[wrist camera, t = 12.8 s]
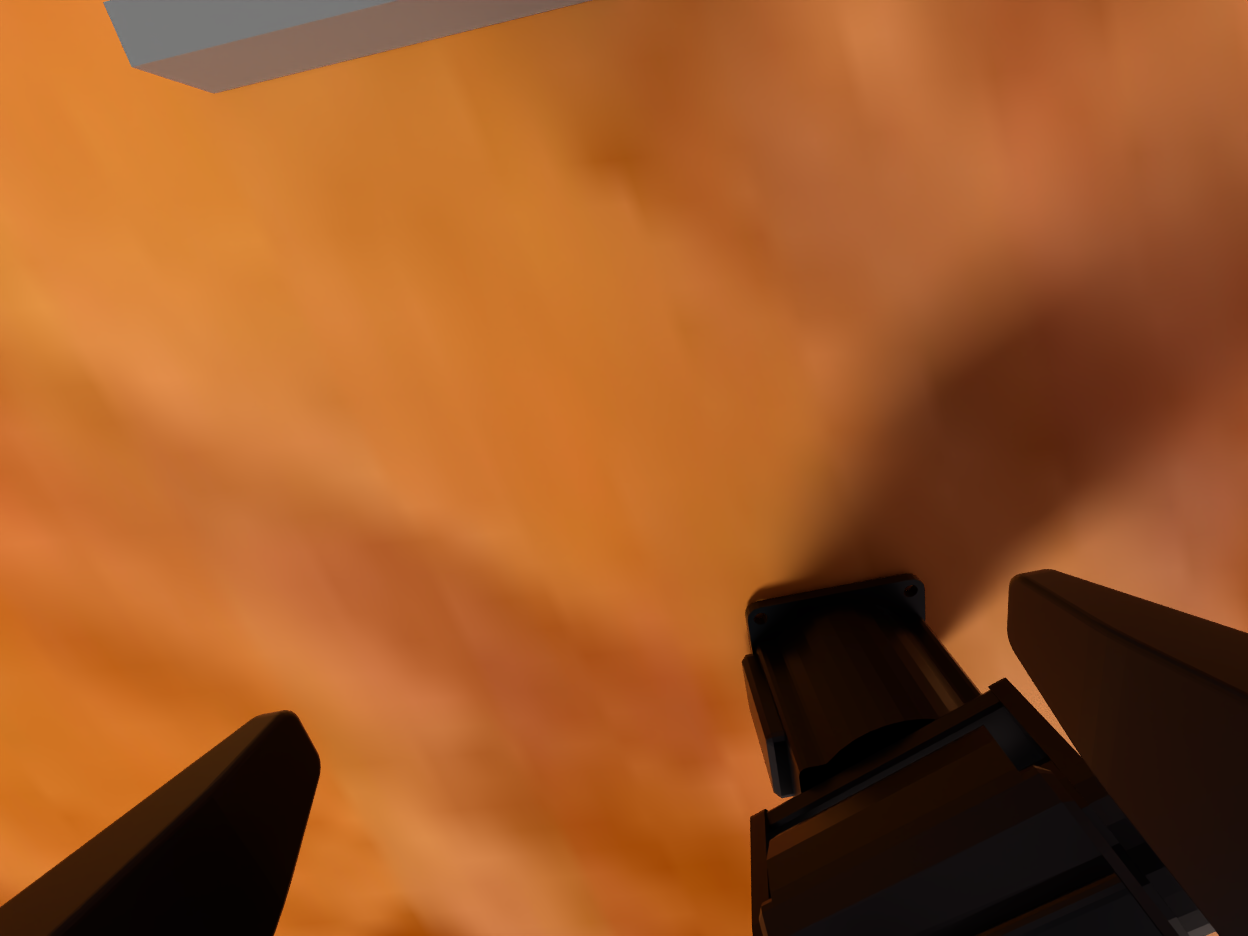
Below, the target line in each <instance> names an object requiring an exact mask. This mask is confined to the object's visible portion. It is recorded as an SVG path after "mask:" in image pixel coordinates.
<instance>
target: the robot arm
mask: <svg viewBox="0 0 1248 936" xmlns="http://www.w3.org/2000/svg"><path fill="white" fill-rule="evenodd" d="M910 585H912V587H911V588H910V589H909V590H907V591H904V589H905V588H906V587H907V586H910ZM759 613H764V616H763V617H760V618H755V616H756V615H757V614H759ZM745 616H746V623H747V629H748V635H749V642H750V648H751V654H749V655H746V656H745V657H744V659H743V660H742V666H743V672H744V678H745V684H746V690H747V696H748V702H749V708H750V712H751V715H752V719H753V722H754V726H755V729H756V733H757V736H758V739H759V743H760V746H761V750H762V753H763V757H764V760H765V764H766V767H767V771H768V774H769V778H770V781H771V784H772V788H773V791H774V793H775V794H777V795H778V796H779V797H781V798H785V797H791V796H793V798H791V799H790V800H788V801H786V802H784V803H782V804H781V805H779V806H777V807H775V808H773V809H771V810H770V811H768V810H767V809H764V810H762V811H760V812H759V813H757V814H755V815H753V816H751V817H750V836H751V897H752V932H753V936H1206V935H1208V934H1210V933H1213V932H1215V931H1216V932H1217V933H1218V935H1219V936H1248V633H1246V632H1243V631H1239V630H1236V629H1233V628H1230V627H1227V626H1224V625H1221V624H1218V623H1215V622H1212V621H1209V620H1206V619H1203V618H1200V617H1197V616H1193V615H1190V614H1187V613H1184V612H1181V611H1178V610H1175V609H1172V608H1169V607H1166V606H1163V605H1160V604H1157V603H1154V602H1151V601H1148V600H1144V599H1141V598H1138V597H1135V596H1132V595H1129V594H1126V593H1123V592H1120V591H1117V590H1114V589H1111V588H1108V587H1105V586H1102V585H1099V584H1095V583H1092V582H1089V581H1086V580H1083V579H1080V578H1077V577H1074V576H1071V575H1068V574H1065V573H1062V572H1059V571H1056V570H1052V569H1043V570H1038V571H1032V572H1027V573H1022V574H1018V575H1016V576H1014V577H1013V578H1012V579H1011V581H1010V584H1009V597H1008V620H1007V633H1008V639H1009V642H1010V645H1011V647H1012V649H1013V651H1014V653H1015V654H1016V656H1017V657H1018V659H1019V661H1020V662H1021V664H1022V665H1023V667H1024V668H1025V670H1026V671H1027V673H1028V675H1029V676H1030V678H1031V679H1032V681H1033V682H1034V684H1035V686H1036V687H1037V689H1038V690H1039V692H1040V693H1041V695H1042V696H1043V698H1044V700H1045V701H1046V703H1047V704H1048V706H1049V707H1050V709H1051V711H1052V712H1053V714H1054V715H1055V717H1056V718H1057V720H1058V721H1059V723H1060V725H1061V726H1062V728H1063V729H1064V731H1065V732H1066V734H1067V736H1068V737H1069V739H1070V740H1071V742H1072V743H1073V745H1074V746H1075V748H1076V750H1077V751H1078V753H1079V754H1080V755H1081V756H1080V755H1079V754H1078V753H1077V752H1076V751H1075V750H1074V749H1073V748H1072V747H1071V746H1070V745H1069V744H1068V743H1067V741H1066V740H1065V739H1064V738H1063V737H1062V736H1061V735H1060V734H1059V733H1058V732H1057V731H1056V730H1055V729H1054V728H1053V727H1052V726H1051V725H1050V724H1049V723H1048V722H1047V720H1046V719H1045V718H1044V717H1043V716H1042V715H1041V714H1040V713H1039V712H1038V711H1037V710H1036V709H1035V708H1034V707H1033V706H1032V705H1031V704H1030V703H1029V702H1028V701H1027V699H1026V698H1025V697H1024V696H1023V695H1022V694H1021V693H1020V692H1019V691H1018V690H1017V689H1016V688H1015V687H1014V686H1013V685H1012V684H1011V683H1010V682H1009V681H1008V680H1007V678H1003V679H1001V680H999V681H997V682H996V683H994V684H992V685H990V686H988V687H989V689H990V690H989V691H987V692H985V693H984V694H982V693H981V692H980V691H979V690H978V688H977V687H976V686H975V685H974V683H973V682H972V681H971V680H970V678H969V677H968V676H967V674H966V673H965V672H964V671H963V669H962V668H961V667H960V666H959V664H958V663H957V662H956V660H955V659H954V658H953V657H952V655H951V654H950V653H949V652H948V650H947V649H946V648H945V647H944V645H943V644H942V643H941V641H940V640H939V639H938V638H937V636H936V635H935V634H934V633H933V631H932V630H931V629H930V628H929V626H928V625H927V624H926V622H925V588H924V584H923V583H922V582H921V581H920V580H919V579H918V578H917V577H916V576H915V575H913V574H901V575H895V576H890V577H885V578H879V579H874V580H869V581H863V582H858V583H853V584H847V585H842V586H837V587H831V588H826V589H820V590H815V591H810V592H804V593H799V594H794V595H788V596H783V597H778V598H772V599H767V600H762V601H757V602H754V603H751V604H750V605H749V606H748V607H747V609H746V612H745ZM320 768H321V766H320V758H319V755H318V752H317V751H316V749H315V747H314V745H313V743H312V741H311V740H310V738H309V736H308V734H307V732H306V730H305V729H304V727H303V725H302V723H301V721H300V719H299V718H298V716H297V715H296V714H295V713H293V712H292V711H288V710H283V711H278V712H272V713H267V714H262V715H259V716H256V717H254V718H253V719H251V720H250V721H249V722H247V723H246V724H245V725H243V726H242V727H241V728H239V729H238V730H237V731H235V732H234V733H233V734H231V735H230V736H229V737H227V738H226V739H224V740H223V741H222V742H220V743H219V744H218V745H216V746H215V747H214V748H212V749H211V750H210V751H208V752H207V753H206V754H204V755H203V756H202V757H200V758H199V759H198V760H196V761H195V762H194V763H192V764H191V765H190V766H188V767H187V768H186V769H184V770H183V771H182V772H180V773H179V774H178V775H176V776H175V777H174V778H172V779H171V780H170V781H168V782H167V783H166V784H164V785H163V786H162V787H160V788H159V789H158V790H156V791H155V792H154V793H152V794H151V795H150V796H148V797H147V798H146V799H144V800H143V801H142V802H140V803H139V804H138V805H136V806H135V807H134V808H132V809H131V810H130V811H128V812H127V813H126V814H124V815H123V816H122V817H120V818H119V819H118V820H116V821H115V822H114V823H112V824H111V825H110V826H108V827H107V828H106V829H104V830H103V831H102V832H100V833H99V834H97V835H96V836H95V837H93V838H92V839H91V840H89V841H88V842H87V843H85V844H84V845H83V846H81V847H80V848H79V849H77V850H76V851H75V852H73V853H72V854H71V855H69V856H68V857H67V858H65V859H64V860H63V861H61V862H60V863H59V864H57V865H56V866H55V867H53V868H52V869H51V870H49V871H48V872H47V873H45V874H44V875H43V876H41V877H40V878H39V879H37V880H36V881H35V882H33V883H32V884H31V885H29V886H28V887H27V888H25V889H24V890H23V891H21V892H20V893H19V894H17V895H16V896H15V897H13V898H12V899H11V900H9V901H8V902H7V903H5V904H4V905H3V906H1V907H0V936H274V933H275V931H276V928H277V925H278V922H279V919H280V916H281V913H282V910H283V907H284V904H285V901H286V897H287V894H288V891H289V887H290V884H291V881H292V877H293V873H294V870H295V866H296V862H297V858H298V855H299V851H300V847H301V844H302V840H303V836H304V832H305V829H306V825H307V821H308V818H309V814H310V810H311V806H312V803H313V799H314V795H315V792H316V788H317V784H318V781H319V776H320Z"/></svg>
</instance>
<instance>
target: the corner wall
mask: <svg viewBox="0 0 1248 936" xmlns="http://www.w3.org/2000/svg"><path fill="white" fill-rule="evenodd" d="M586 1H591V0H110V1H106V2H103V3H104V5H105V8H106V10H107V12H108V14H109V17H110V19H111V21H112V23H113V26H114V28H115V30H116V32H117V35H118V37H119V39H120V41H121V44H122V46H123V48H124V51H125V53H126V55H127V57H128V60H129V62H130V64H131V66H132V67H133V68H136V69H139V70H143V71H146V72H149V73H152V74H155V75H158V76H161V77H164V78H167V79H170V80H174V81H177V82H180V83H183V84H186V85H189V86H192V87H195V88H198V89H202V90H205V91H208V92H211V93H218V92H222V91H226V90H230V89H234V88H238V87H242V86H246V85H250V84H254V83H258V82H262V81H266V80H270V79H274V78H279V77H283V76H287V75H291V74H295V73H299V72H303V71H307V70H311V69H315V68H319V67H323V66H327V65H331V64H335V63H339V62H343V61H347V60H351V59H356V58H360V57H364V56H368V55H372V54H376V53H380V52H384V51H388V50H392V49H396V48H400V47H404V46H408V45H412V44H416V43H420V42H424V41H428V40H433V39H437V38H441V37H445V36H449V35H453V34H457V33H461V32H465V31H469V30H473V29H477V28H481V27H485V26H489V25H493V24H497V23H501V22H505V21H509V20H514V19H518V18H522V17H526V16H530V15H534V14H538V13H542V12H546V11H550V10H554V9H558V8H562V7H566V6H570V5H574V4H578V3H582V2H586Z"/></svg>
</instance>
